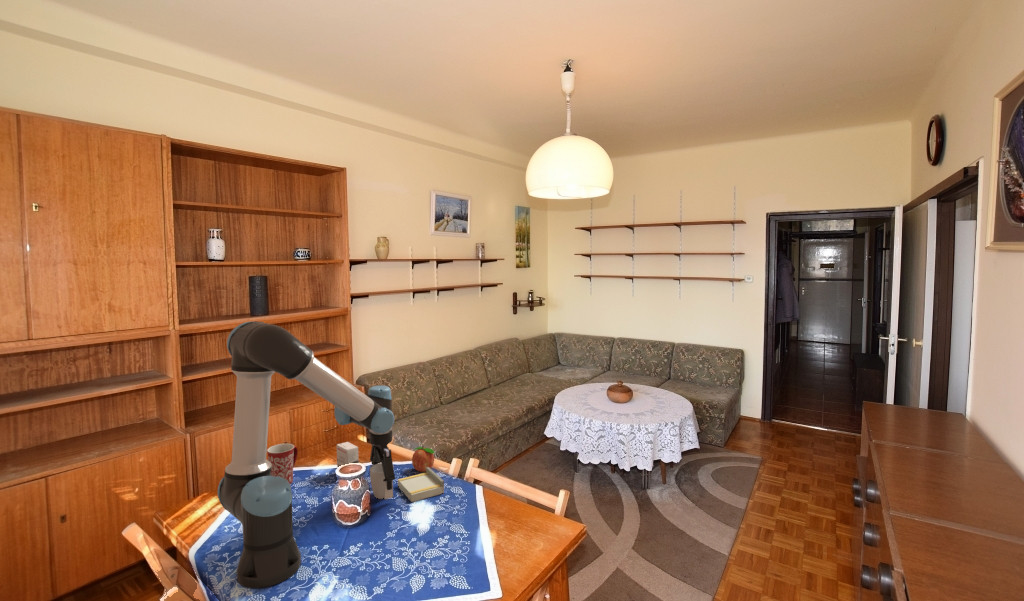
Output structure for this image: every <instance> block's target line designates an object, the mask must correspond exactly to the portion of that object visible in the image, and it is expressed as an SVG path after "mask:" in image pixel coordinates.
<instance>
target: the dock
mask: <svg viewBox="0 0 1024 601" xmlns="http://www.w3.org/2000/svg"><path fill="white" fill-rule="evenodd" d="M398 486H399V487H398ZM397 487H398V489H400V491H401V492H402V491H403V492H404V493H403V494H404V495H405V497H407V499H408V500H409V501H410V502H411V503H413V502H417V501H419V500H421V501H422V500H424V499H429V498H431V497H435V496H439V495H442V493H443V494H444V493H445V481H444V479H443V478H442V477H440V476H439V475H438V474H437V473H436V472H435V471H434V470H432V468H431V469H430V468H429V467H426V472H421V473H419V474H415V475H410V476H407V477H402V478H398V479H397Z"/></svg>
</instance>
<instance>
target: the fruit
mask: <svg viewBox="0 0 1024 601" xmlns="http://www.w3.org/2000/svg"><path fill="white" fill-rule="evenodd" d="M412 450H415V451H414V452H413V454H412V457H411V464H412V467H413V468H414V469H415V470H416V471H417V472H419V473H426V467H429V468H430V469H431V470H432V468H433V466H434V464H435V456H434V454H435V450H433V449H432V448H429V447H424V444H423V445H422V446H417V447H415V448H413V449H412Z"/></svg>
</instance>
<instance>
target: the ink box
mask: <svg viewBox="0 0 1024 601" xmlns="http://www.w3.org/2000/svg"><path fill="white" fill-rule="evenodd" d="M349 463H360V462H359V446H357V445H355V444H353V443H351V442H349V441H346V442H341V443H337V444H336V466H337V467H339V466H341V465H345V464H349Z"/></svg>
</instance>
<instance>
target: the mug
mask: <svg viewBox="0 0 1024 601" xmlns="http://www.w3.org/2000/svg"><path fill="white" fill-rule="evenodd" d="M298 451H299V450H298V447H297V446H296V445H294V444H292V443H279V444H275V445H272V446H270V447H267V458H268V459H267V460H268V461H269V462H270V463H271V464H272V467H271V476H274V477H276V476H279V477H283V478H285V479H286V480H287V481H288V482H289V483H290V485H291V484H292V483H293V482H294V467H295V465H296V462H297V459H298V453H299V452H298Z"/></svg>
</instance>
